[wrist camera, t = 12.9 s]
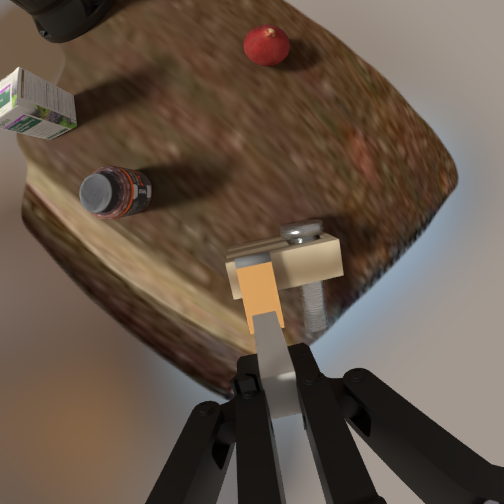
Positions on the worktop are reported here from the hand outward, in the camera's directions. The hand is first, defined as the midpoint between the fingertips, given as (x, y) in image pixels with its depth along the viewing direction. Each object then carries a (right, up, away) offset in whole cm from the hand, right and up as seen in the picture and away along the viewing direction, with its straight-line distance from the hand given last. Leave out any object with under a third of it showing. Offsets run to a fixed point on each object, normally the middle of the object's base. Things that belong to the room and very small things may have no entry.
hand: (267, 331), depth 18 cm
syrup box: (-30, +25, +15) cm, 42 cm away
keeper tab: (0, +1, +11) cm, 11 cm away
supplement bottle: (-17, +13, +18) cm, 28 cm away
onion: (+1, +32, +15) cm, 35 cm away
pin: (+6, +3, +19) cm, 20 cm away
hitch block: (+2, +5, +21) cm, 21 cm away
